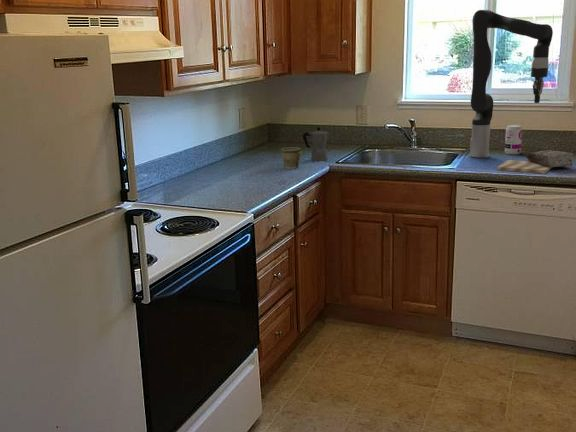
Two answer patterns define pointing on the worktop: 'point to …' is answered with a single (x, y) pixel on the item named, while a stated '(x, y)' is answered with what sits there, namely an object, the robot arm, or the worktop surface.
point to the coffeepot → (317, 144)
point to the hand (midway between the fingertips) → (536, 102)
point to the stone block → (550, 158)
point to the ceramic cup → (291, 157)
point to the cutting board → (523, 167)
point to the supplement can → (513, 139)
